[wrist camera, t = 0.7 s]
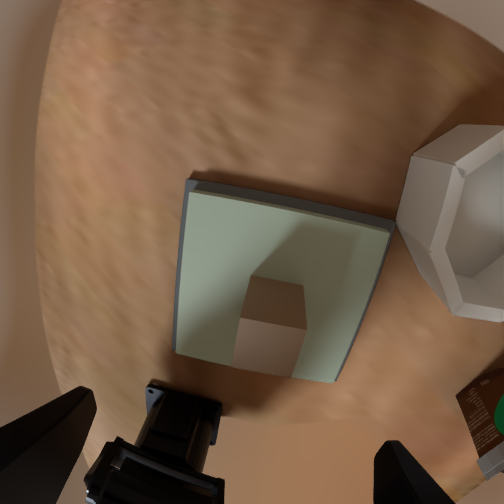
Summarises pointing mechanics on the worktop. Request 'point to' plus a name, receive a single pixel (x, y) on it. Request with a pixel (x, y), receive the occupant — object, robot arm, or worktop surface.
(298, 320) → the lid
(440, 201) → the bowl
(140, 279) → the worktop surface
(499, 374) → the food container
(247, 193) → the mat
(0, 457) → the robot arm
